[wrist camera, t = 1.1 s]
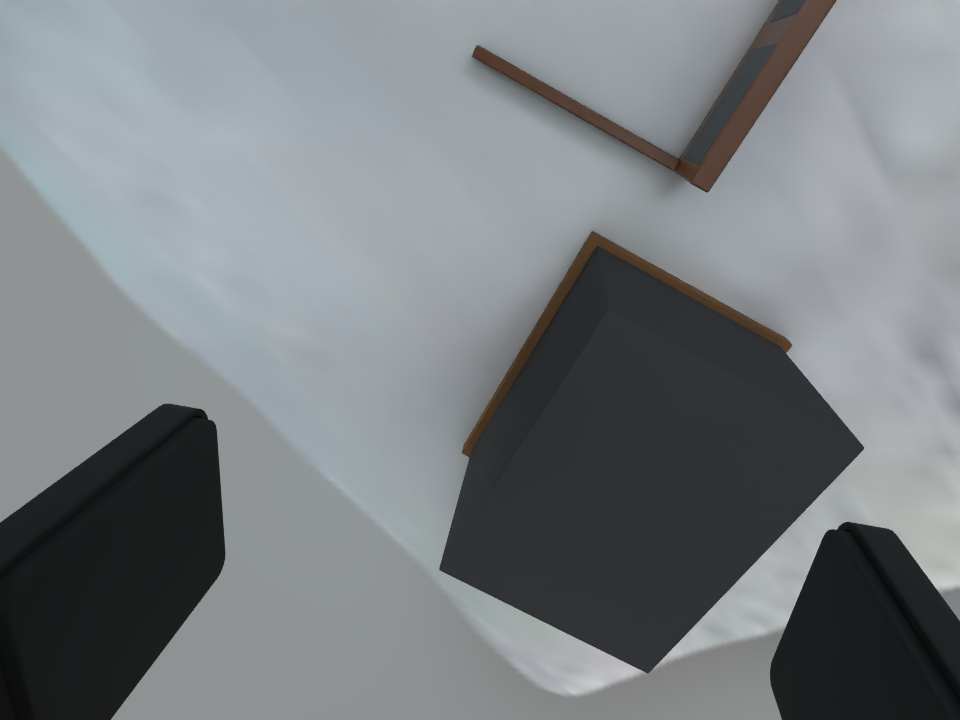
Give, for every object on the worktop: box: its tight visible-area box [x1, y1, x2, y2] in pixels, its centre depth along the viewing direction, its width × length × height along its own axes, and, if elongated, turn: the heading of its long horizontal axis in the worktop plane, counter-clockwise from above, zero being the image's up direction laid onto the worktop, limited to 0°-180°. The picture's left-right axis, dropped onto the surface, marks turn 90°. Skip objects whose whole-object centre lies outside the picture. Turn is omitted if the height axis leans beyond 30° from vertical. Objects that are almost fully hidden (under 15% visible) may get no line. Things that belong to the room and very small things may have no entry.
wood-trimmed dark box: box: [439, 232, 864, 673], centre depth 33 cm, size 14×16×12 cm
